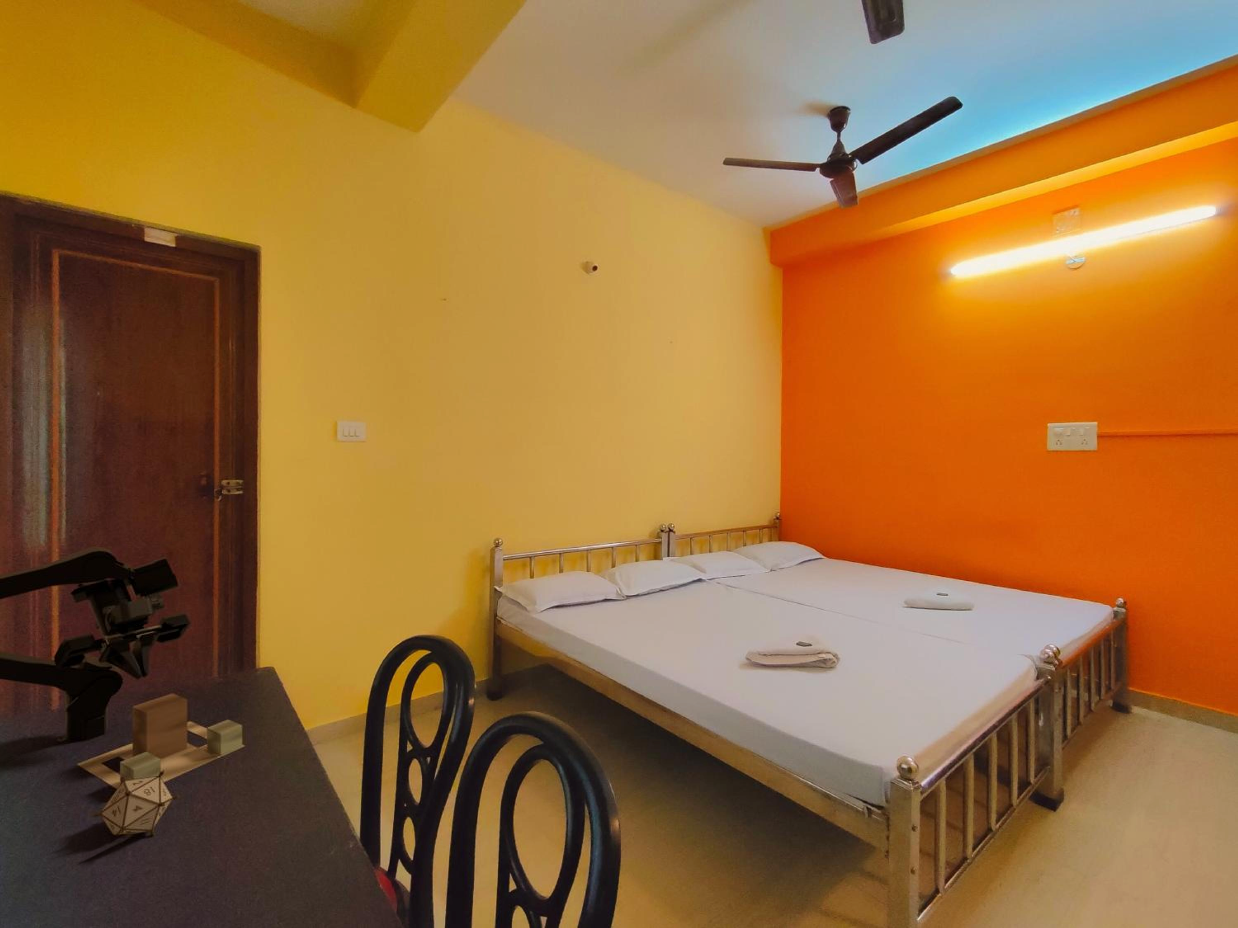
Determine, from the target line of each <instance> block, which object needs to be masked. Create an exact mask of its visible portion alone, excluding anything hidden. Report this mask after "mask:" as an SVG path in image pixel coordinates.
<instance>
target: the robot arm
mask: <svg viewBox="0 0 1238 928" xmlns="http://www.w3.org/2000/svg"><path fill="white" fill-rule="evenodd" d="M87 583H89V584H87ZM66 585H67V586H69V585H77V587H76V588H74V589H73V590H72V591H71V592H70V596H71V599H72V600H73V603H74V604H78V603H81V602H84V601H87V602H88V604H89V606H90V608H91V612H92V613H93V615H94V616H93V617H94V618H95V622H94V627H95V629H96V630H97V629H99V631H100V633H101V635H102V638H99V639H96V638H95V637H94V634H92V633H87V634H82V635H77V636H73V637H68V638H64V639H63V641H62V642H61V643H60V645H59V646H58V647H57V650H56V653H55V654H54V655H53V659H50V658H49V659H48V658H43V657H37V656H30V655H26V654H25V655H24V654H19V653H14V652H7V651H1V650H0V680H4V681H10V682H11V681H12V682H18V683H25V684H34V685H41V686H46V687H53V688H56V689H59V690H61V691H63V692H64V693H63V696H64V702H65V708H66V710H65V735H64V736H60V737H58V738H57V743H61V742H64V741H67V740H68V741H80V740H81V741H91V740H93V739H95V738H99V737H101V736H105V735H106V732H107V730H108V728H109V727H108V705H109V703H110V700H111V698H112V697H113V696H115V695H116V694H117V693H118V692H119V691H120V689H121V688H122V686H123V684H124V683H123V681H124V679H123V675H122V673H121V671H120V670H122V671H123V672H125V673H126V674H128V675H129V676H132V677H133V678H134V679H136V681H137V680H141V679H142V677H143V679H145V678H147V677H148V675H149V667H150V665H149V664H150V652H151V650H152V648H153V646H154V644H155V643H156V642H157V643H161V644H165V643H169V642H173V641H177V640H179V639H181V638H183V635H184V634H185V632H186V631H187V629H188V628H189V627H190V625H191V624H192V621H191V619H190V618H189V615H187V614H186V613H184V612H183V613H177V614H171V615H168V616H164V617H161V619H160V620H159V623H158V624H157V625H154V626H151V627H150V626H149V627H146V628H145V625H148V624H149V621H150V618H149V617H151V616H154V615H156V613H155V612H159V611H161V610H163V609H164V608H165V602H164V601H165V600H164V598H163V597H162V594H164V593H167V592H169V591H173V590H175V589H178V588H179V584H178V579H177V577H176V574H175V572H173V570H172V568H171V566H170V564H169V562H168V559H167V558H166V557H160V558H157V559H155V560H152V561H151V562H148V563H145V564H140V565H137V566H135V567H131V566H130V565H129V564H128V563H124V562H121V561H119V560H117V558H116V556H115V554H113V552H111V550H109V549H107V548H105V547H102V546H90V547H87V548H84V549H82V550H79V551H76V552H74V553H73V552H72V553H71V554H68V555H66V556H63V557H61V558H59V559H56V560H54V561H52V562H49V563H46V564H43V565H40V566H39V565H38V566H35V567H30V568H26V569H22V570H17V571H14V572H10V573H5V574H0V600H2V599H6V598H7V599H8V598H11V597H14V596H18V595H22V594H26V593H29V592H33V591H37V590H42V589H45V588H46V589H47V588H50V587H56V586H57V587H58V586H66ZM129 586H130V588H131V590H132V593H133V595H134V596H135V598H137V597H140V599H137V600H133V598H132V597H131V595H130V592H129V589H128V588H127V587H129ZM141 598H142V599H141ZM130 643H131V644H132V645H133V648H132V650H131V647H130V646H131V645H130ZM93 652H99V653H100V657H97V656H94V655H91V653H93ZM89 653H90V654H89Z"/></svg>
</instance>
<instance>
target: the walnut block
mask: <svg viewBox="0 0 1238 928" xmlns="http://www.w3.org/2000/svg"><path fill="white" fill-rule="evenodd" d="M131 709H132V718H131V719H132V724H131V725H132V726H131V727H132V743H133V757H135V756H137V755H140V754H142V753H145V752H148V753H150V754H152V755H154V756H156V757H158V758H160V759H163V758H165V757H168V756H170V755H173V754H175V753H177V752H180V751H182V750H185V749H187V743H188V730H187V723H188V699H187V698H185V697H182V696H180V695H177V694H176V693H169V694H166V695H164V696H161V697H157V698H155V699H151V700H149V701H145V702H143V703H139V704H136V705H133V706H132V708H131Z"/></svg>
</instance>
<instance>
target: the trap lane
mask: <svg viewBox="0 0 1238 928" xmlns="http://www.w3.org/2000/svg"><path fill="white" fill-rule="evenodd" d="M187 732H191V733H193V734H195V735H197V736H199V737H202V738H203V739H206V744H205V745H202V746H200V747H198V746H197V747H196V746H194V745H193V744H190V743H188V742H187V749H185V750H182V751H180V752H177V753H175V754H173V755H170V756H168V757H165V758H163V759H160V758H158V757H156V756H154V755H152V754H150V753H148V752H145V753H142V754H140V755H137V756H135V757H133V742H132V743H130V744H126V745H124V746H121V747H119V748H116V749H113V750H111V751H108V752H105V753H103V754H100V755H98V756H95V757H92V758H89V759H87V760H84V761H82V762H79V763H77V764H76V765H77V766H79V767H80V768H82V769H83V770H86V771H87V772H89V773H90V774H92V775H94V776H95V777H96V778H99V779H100V780H102V781H103V782H105V783H107V784H108V785H110V786H111V787H112V788H114V789H116V790H117V789H118V787H119V786H120V785H121V783H122V781H121V780H120V777H121V776H123V777H124V778H125V780H132V779H139V778H146V777H153V776H159V773H160V772H161V771H163V770H164V774H163V775H162V776H161V778H162V780H163V782H164V783H166V782H168V781H170V780H172V779H174V778H177V777H178V776H182V775H183V774H185V773H188V772H190V771H191V770H194V769H197V768H199V767H201V766H203V765H205V764H208V763H210V762H213V761H215V760H217V759H218V758H221V757H223V756H226V755H228V754H230V753H233V752H235V751H237V750H239V749H242V748H244V747H245V746H246V745H244V744H243V725H242V724H239V723H238V722H235V721H233V720H230V719H226V720H224V721H221V722H218V723H216V724H212V725H211V726H209V727H208V726H207V728H206V727H204V726H201V725H200V724H198V723H196V722H193V721H187ZM118 757H119V758H121V759H123V760H122V761H119V767H120V768H119V773H118V772H116V771H114V770H113V769H112V768H109V767H107V766H106V765H104V764H103V763H105V762H107V761H110V760H112V759H115V758H118Z"/></svg>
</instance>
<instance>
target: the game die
mask: <svg viewBox="0 0 1238 928" xmlns="http://www.w3.org/2000/svg"><path fill="white" fill-rule="evenodd" d="M163 774H164V770H163V771H161V772H160V773H159V776H153V777H146V778H139V779H132V780H125V778H124V777H123V776H121V777H120V780H121V781H122V783H121V785H120V786H119V787H118V789H116V790H115V791H114V793H113V794H112V795H111V797H110V798H109V799H108V801H107V802H106V803H105V805H104V806H103V808H102V809H101V811H99V812H98V811H97V812H94V813H93V814H91V815H90V816H91V817H93V818H96V817H98V816H100V818H101V819H102V821H103V822H104V824H105V826H106V827H107V828H108V830H109V831H110V833H111V834H112V835H114V836H120V835H123V836H129V835H135V834H141V833H147V832H150V836H154V837H155V835H156V831H155V829H154V828H155V827H156V825H157V823H158V822H159V821H160V820H161V818H162V816H163V815H164V813H165V811H166V810H167V808H168V806H170V804H171V802H172V801H173V800H177V799H179V798H181V797H180V795H178V794H177V795H174V796H173V795H172V793H171V792H170V790H169V788H168V787H167V785H166V782H163V780H162V778H161V776H162V775H163ZM114 841H115V840H114V839H113V840H111V841H109V844H111V843H112V842H114Z"/></svg>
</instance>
